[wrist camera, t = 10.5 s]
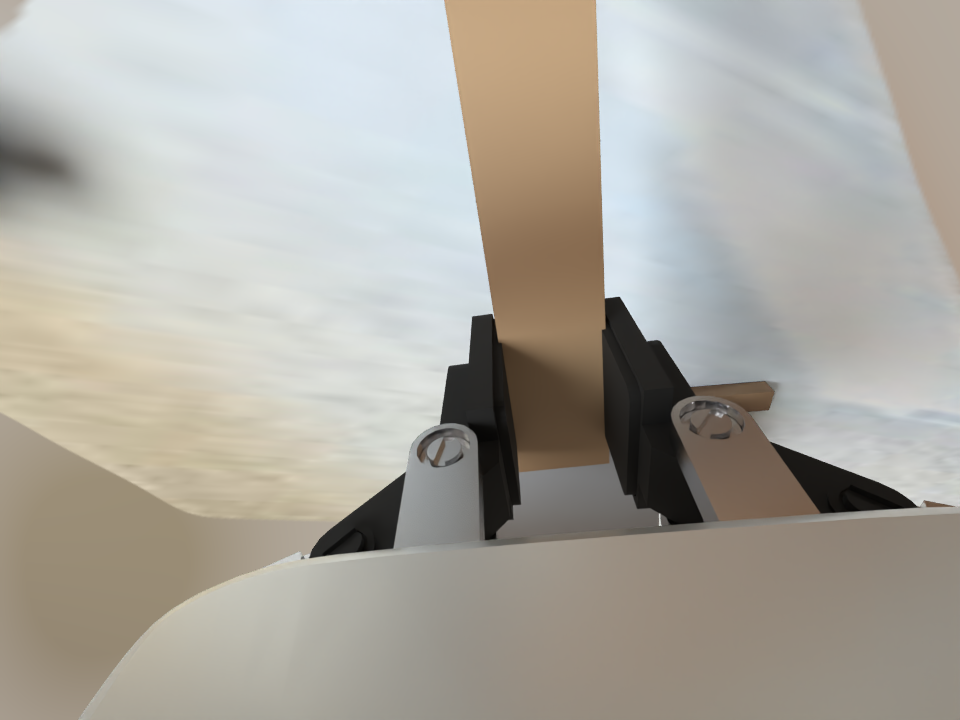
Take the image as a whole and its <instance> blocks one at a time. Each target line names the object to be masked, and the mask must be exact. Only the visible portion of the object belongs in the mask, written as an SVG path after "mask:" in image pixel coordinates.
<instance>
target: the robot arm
mask: <svg viewBox="0 0 960 720" xmlns="http://www.w3.org/2000/svg"><path fill="white" fill-rule="evenodd" d="M605 328H606V329H604V330H602V357H603V391H604V425H605V438H606V441H607V444H608V447H609V450H610V453H611V456H612V459H613V462H614V465H615V469H616V472H617V475H618V478H619V481H620V484H621V487H622V490H623V493H624V495H632V496H633V499H634V502H635V504H636V507H637V509H646V508H651V509H652V510H654V511H656V512H658V513H659V514H660V518H661V525H662V526H654V527H642V528H629V529H617V530H604V531H592V532H580V533H567V534H555V535H543V536H531V537H519V538H507V539H499V535H498V530H499V529H500V528H501V527H502V526H503V525H504V524H505V523H506V522H507V521H508V520H514V518H513V505H521V494H520V481H519V467H518V454H517V443H516V436H515V429H514V423H513V416H512V409H511V402H510V396H509V389H508V382H507V376H506V369H505V362H504V356H503V349H502V343H499V342H498V336H497V330H496V324H495V319H493V315H492V314H488V315H481V316H473V317H472V327H471V340H470V354H469V364H461V365H453V366H449V368H448V373H447V380H446V387H445V394H444V401H443V407H442V414H441V421H440V425H438V426H434V427H432V428H430V429H428V430H426V431H424V432H423V433H422V434H421V435H419V436H418V437H417V438H416V440H415V441H414V442H413V443H412V446H411V449H410V451H409V457H408V464H407V470H406V472H405V473H404V474H402V475H401V476H400V477H398V478H397V479H396V480H394V481H393V482H392V483H391V484H389V485H388V486H387V487H385V488H384V489H383V490H381V491H380V492H379V493H377V494H376V495H375V496H373V497H372V498H371V499H369V500H368V501H367V502H366V503H364V504H363V505H362V506H360V507H359V508H358V509H356V510H355V511H354V512H352V513H351V514H350V515H348V516H347V517H346V518H344V519H343V520H342V521H340V522H339V523H338V524H337V525H335V526H334V527H333V528H331V529H330V530H329V531H328V532H327V533H326V534H325V535H323V536H322V537H321V538H320V539H319V541H318V542H317V543H316V545H315V546H314V548H313V549H312V551H311V553H309V554H307V555H305V556H303V555H302V553H301V552H300V551H299V552H297V553H295V554H293V555H291V556H288V557H286V558H284V559H282V560H279V561H277V562H275V563H273V564H271V565H268V566H266V567H264V568H262V569H259V570H256V571H253V572H250V573H247V574H243V575H240V576H237V577H235V578H232V579H230V580H228V581H226V582H223V583H221V584H219V585H216V586H214V587H212V588H209V589H207V590H205V591H203V592H201V593H199V594H197V595H195V596H193V597H192V598H190V599H188V600H186V601H185V602H183V603H181V604H180V605H178V606H177V607H175V608H173V609H172V610H170V611H169V612H168V613H166V614H165V615H164V616H163V617H161V618H160V619H159V620H158V621H156V622H155V623H154V624H153V625H152V626H151V627H150V628H149V629H148V630H147V631H146V632H145V633H144V634H143V635H142V636H141V637H140V638H139V640H138V641H137V642H136V643H135V644H134V646H133V647H132V648H131V649H130V650H129V651H128V652H127V654H126V655H125V656H124V657H123V659H122V660H121V661H120V662H119V664H118V665H117V666H116V668H115V669H114V670H113V671H112V673H111V674H110V676H109V677H108V679H107V680H106V681H105V683H104V684H103V685H102V687H101V688H100V689H99V691H98V692H97V694H96V695H95V697H94V698H93V699H92V701H91V702H90V703H89V705H88V706H87V707H86V709H85V711H84V712H83V713H82V715H81V716H80V718H79V719H78V720H960V507H955V506H950V505H945V504H940V503H935V502H930V501H925V500H924V501H923V503H922V504H921V506H920V507H919V506H916V505H915V504H914V503H913V502H912V501H911V500H909V499H908V498H906V497H905V496H903V495H902V494H900V493H899V492H898V491H896V490H894V489H892V488H889V487H887V486H885V485H883V484H881V483H879V482H876V481H873V480H871V479H868V478H865V477H863V476H860V475H857V474H855V473H852V472H849V471H847V470H844V469H841V468H839V467H836V466H833V465H831V464H828V463H825V462H823V461H820V460H817V459H815V458H812V457H809V456H807V455H804V454H801V453H799V452H796V451H793V450H791V449H788V448H785V447H783V446H780V445H777V444H775V443H772V442H769V440H768V439H767V437H766V436H765V435H764V433H763V432H762V430H761V429H760V428H759V426H758V425H757V423H756V422H755V421H754V419H753V418H752V416H751V415H750V414H749V413H748V412H747V411H746V410H745V409H744V408H742V407H741V406H739V405H737V404H736V403H734V402H731V401H729V400H726V399H723V398H718V397H713V396H696V395H695V393H694V392H693V390H692V389H691V387H690V386H689V384H688V383H687V381H686V380H685V378H684V377H683V375H682V374H681V372H680V371H679V369H678V367H677V366H676V364H675V363H674V361H673V360H672V358H671V357H670V355H669V354H668V352H667V351H666V349H665V348H664V346H663V345H662V343H661V342H660V341H658V340H654V341H646V340H645V338H644V336H643V335H642V333H641V331H640V330H639V328H638V326H637V325H636V323H635V321H634V320H633V318H632V316H631V315H630V313H629V311H628V310H627V308H626V306H625V305H624V303H623V301H622V300H621V298H620V297H613V298H606V299H605Z"/></svg>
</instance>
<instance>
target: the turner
mask: <svg viewBox="0 0 960 720" xmlns="http://www.w3.org/2000/svg"><path fill="white" fill-rule="evenodd" d="M444 1H445V8H446V14H447V20H448V27H449V33H450V39H451V46H452V52H453V58H454V64H455V71H456V77H457V83H458V90H459V96H460V102H461V109H462V115H463V121H464V128H465V134H466V140H467V147H468V153H469V159H470V166H471V172H472V178H473V185H474V191H475V197H476V203H477V210H478V216H479V222H480V229H481V235H482V241H483V248H484V254H485V260H486V267H487V273H488V279H489V286H490V292H491V298H492V305H493V311H494V317H495V324H496V330H497V336H498V342H499V343H502V349H503V356H504V362H505V369H506V376H507V382H508V389H509V396H510V402H511V409H512V416H513V423H514V429H515V436H516V443H517V454H518V467H519V481H520V494H521V505H513V518H514V520H508V521H507V522H506V523H505V524H504V525H503V526H502V527H501V528H500V529H499V530H498V535H499V539H507V538H519V537H531V536H543V535H555V534H567V533H580V532H592V531H604V530H617V529H629V528H642V527H654V526H659V513H658V512H656V511H654V510H652V509H651V508H646V509H637V507H636V504H635V502H634V499H633V496H632V495H624V493H623V490H622V487H621V484H620V481H619V478H618V475H617V472H616V469H615V465H614V462H613V459H612V456H611V453H610V450H609V447H608V444H607V441H606V438H605V425H604V391H603V357H602V330H604V329H606V328H605V294H604V261H603V227H602V194H601V160H600V126H599V93H598V59H597V26H596V0H444Z"/></svg>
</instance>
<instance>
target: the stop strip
mask: <svg viewBox="0 0 960 720" xmlns="http://www.w3.org/2000/svg"><path fill="white" fill-rule="evenodd" d="M691 389H692V390H693V392H694V393H695V395H696V396H713V397H718V398H723V399H726V400H729V401H731V402H734V403H736V404H737V405H739V406H741V407H742V408H744V409H745V410H746V411H747V412H750V411H763V410H769V408H770V405H771V401H772V398H773V395H774V391H773V389H772V388H771V387H770V386H769V385H768V384H767V383H766V382H765V381H762V382H750V383H738V384H725V385H713V386H701V387H691Z"/></svg>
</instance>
